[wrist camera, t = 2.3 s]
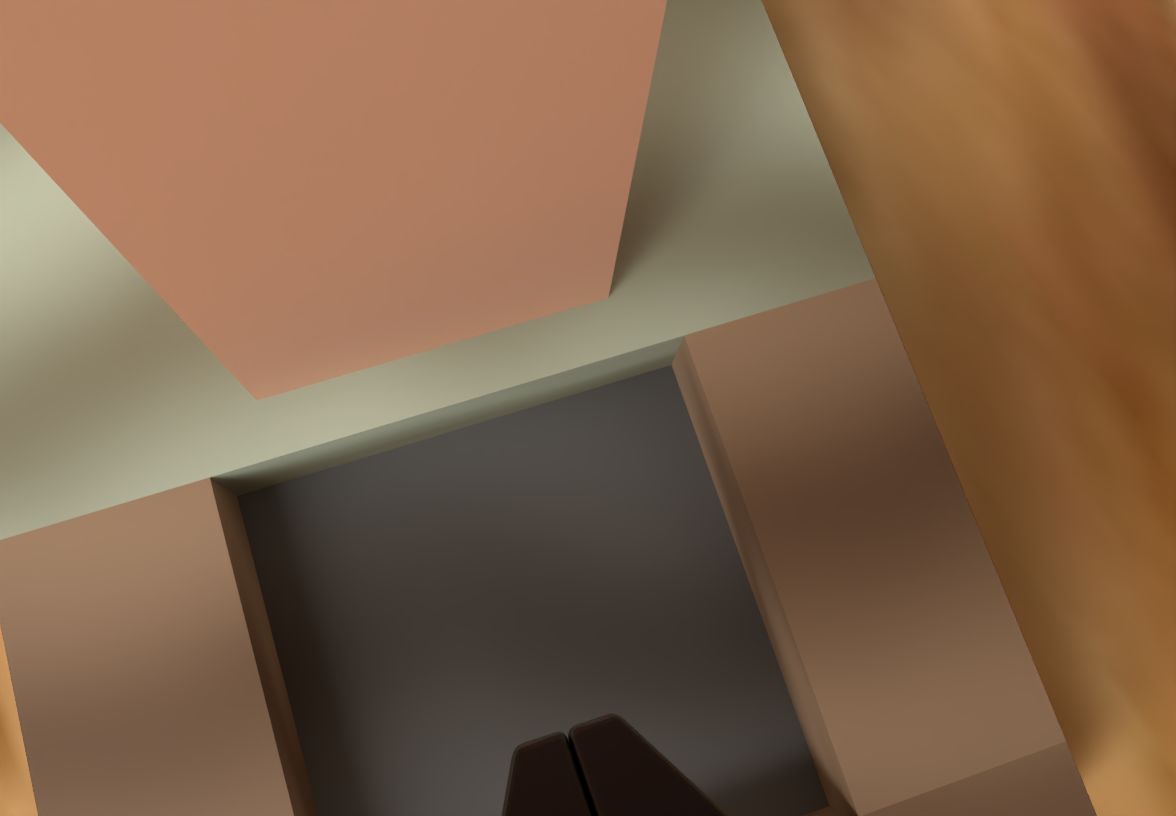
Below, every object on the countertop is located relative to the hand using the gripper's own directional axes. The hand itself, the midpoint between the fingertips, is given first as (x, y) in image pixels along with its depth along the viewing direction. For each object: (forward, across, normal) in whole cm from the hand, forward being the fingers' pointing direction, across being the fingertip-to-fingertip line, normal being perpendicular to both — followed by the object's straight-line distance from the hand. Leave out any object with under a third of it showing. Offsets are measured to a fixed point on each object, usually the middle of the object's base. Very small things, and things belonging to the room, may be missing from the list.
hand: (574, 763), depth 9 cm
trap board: (+17, 0, -2) cm, 17 cm away
